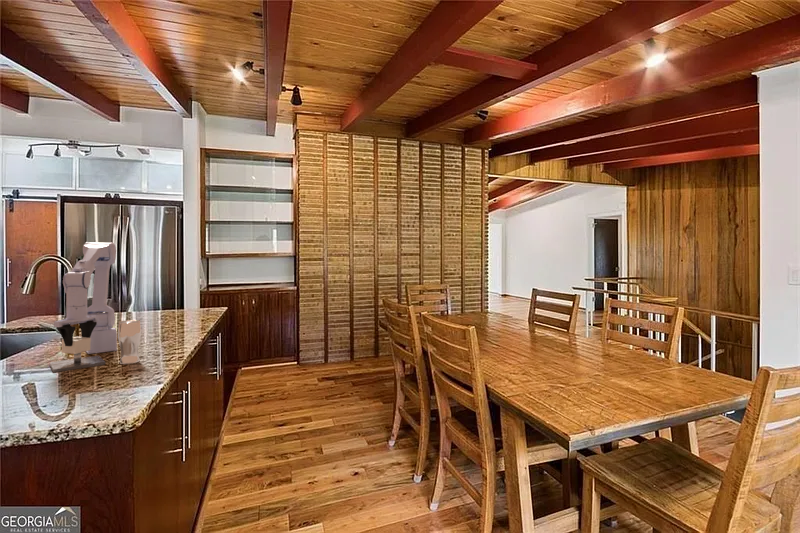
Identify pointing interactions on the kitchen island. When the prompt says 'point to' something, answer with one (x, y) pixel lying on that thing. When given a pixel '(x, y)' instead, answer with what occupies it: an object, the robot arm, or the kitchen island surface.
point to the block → (77, 345)
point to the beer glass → (129, 341)
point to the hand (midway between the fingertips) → (77, 344)
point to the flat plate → (76, 363)
